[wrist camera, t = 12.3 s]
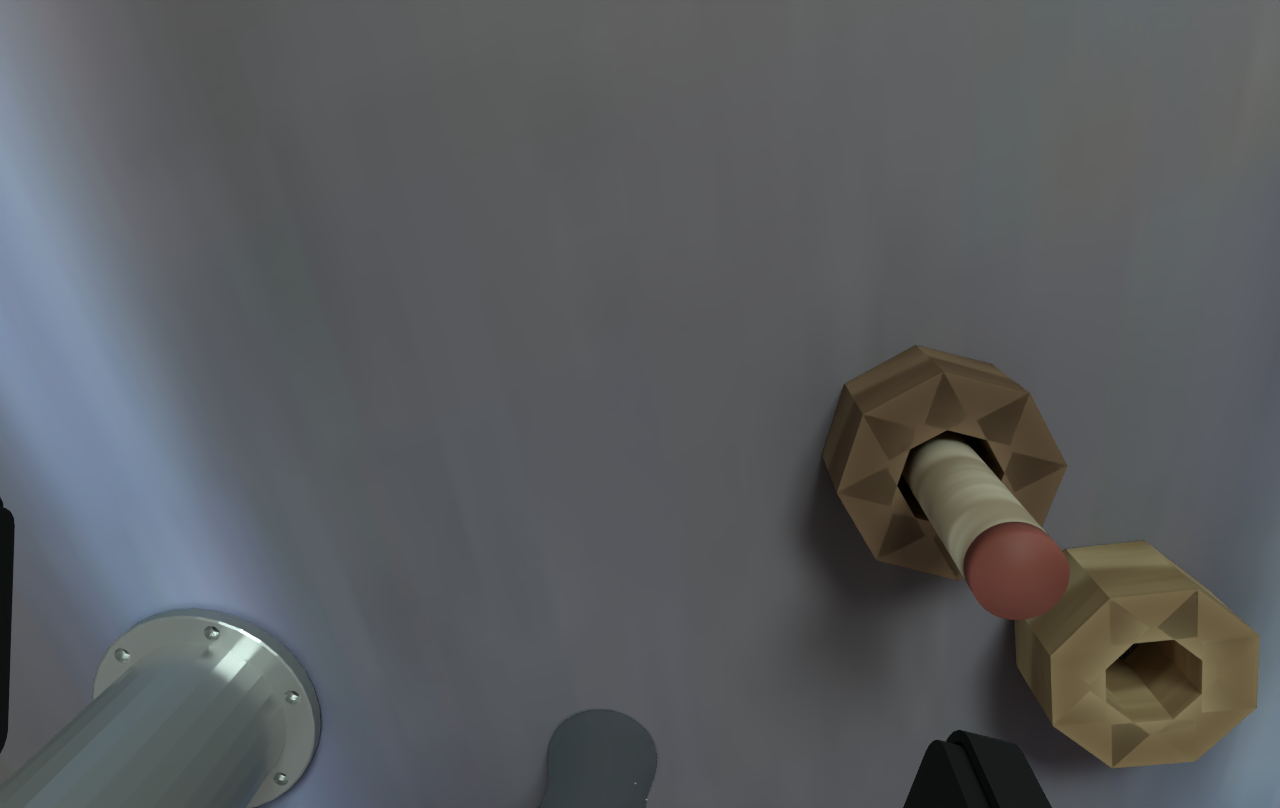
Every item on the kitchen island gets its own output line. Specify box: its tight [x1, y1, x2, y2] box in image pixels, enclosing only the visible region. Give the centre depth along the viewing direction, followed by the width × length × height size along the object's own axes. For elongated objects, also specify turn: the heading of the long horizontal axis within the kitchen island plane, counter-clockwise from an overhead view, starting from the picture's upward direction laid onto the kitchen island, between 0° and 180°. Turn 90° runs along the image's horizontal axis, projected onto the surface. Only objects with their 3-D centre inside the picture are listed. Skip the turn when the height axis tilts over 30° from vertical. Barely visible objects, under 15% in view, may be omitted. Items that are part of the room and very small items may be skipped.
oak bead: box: [1014, 541, 1260, 768], centre depth 43 cm, size 9×9×5 cm
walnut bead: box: [822, 345, 1067, 580], centre depth 41 cm, size 9×9×5 cm
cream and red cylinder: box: [901, 430, 1070, 620], centre depth 37 cm, size 3×3×14 cm
